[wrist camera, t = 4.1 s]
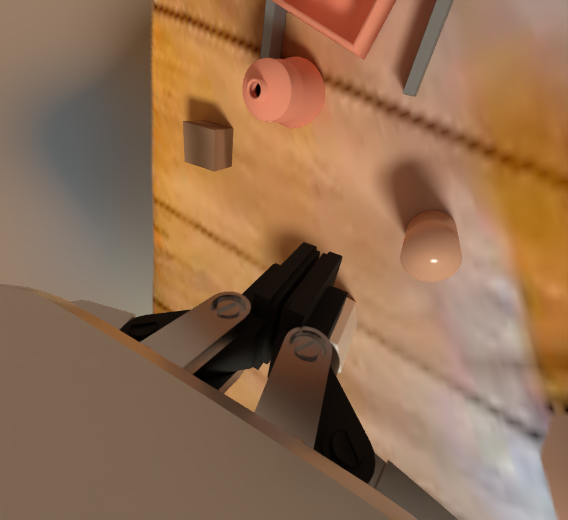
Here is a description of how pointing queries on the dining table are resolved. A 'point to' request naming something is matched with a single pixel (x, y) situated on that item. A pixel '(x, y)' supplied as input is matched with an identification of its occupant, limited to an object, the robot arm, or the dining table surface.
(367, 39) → the pottery
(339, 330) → the jar
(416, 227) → the beige rounded cylinder
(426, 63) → the corral
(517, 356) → the dining table surface
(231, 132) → the metal block
